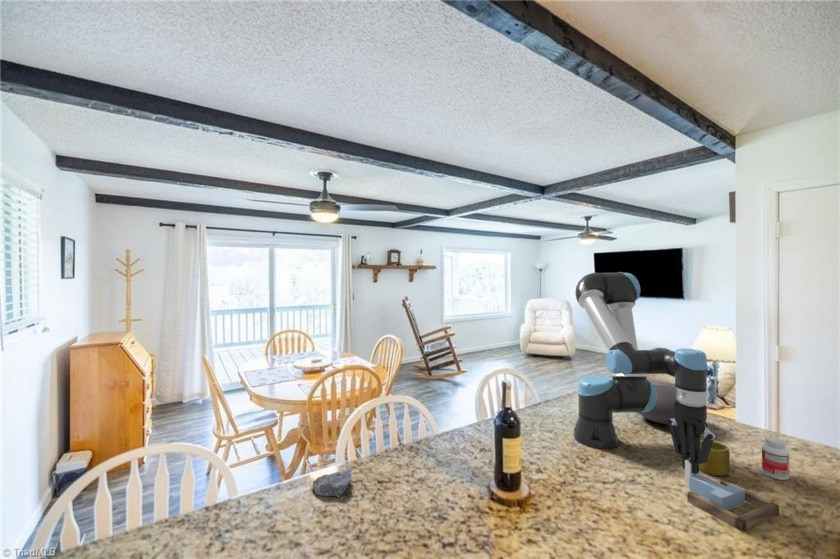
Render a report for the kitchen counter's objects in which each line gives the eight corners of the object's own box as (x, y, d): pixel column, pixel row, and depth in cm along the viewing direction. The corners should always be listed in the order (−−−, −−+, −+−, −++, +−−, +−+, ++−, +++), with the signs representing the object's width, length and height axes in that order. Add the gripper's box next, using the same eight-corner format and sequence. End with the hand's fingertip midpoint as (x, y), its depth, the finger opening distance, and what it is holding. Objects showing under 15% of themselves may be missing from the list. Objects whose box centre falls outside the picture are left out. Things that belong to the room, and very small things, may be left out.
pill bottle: (769, 468, 117) (769, 434, 117) (794, 478, 112) (794, 442, 111) (757, 472, 115) (757, 437, 115) (781, 482, 110) (782, 445, 109)
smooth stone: (640, 406, 172) (640, 374, 172) (706, 421, 154) (706, 386, 154) (621, 421, 156) (621, 386, 156) (693, 440, 137) (693, 400, 137)
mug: (746, 476, 110) (730, 441, 112) (709, 483, 112) (694, 449, 114) (724, 463, 121) (710, 432, 124) (691, 470, 123) (678, 439, 126)
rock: (351, 463, 115) (352, 476, 106) (352, 481, 115) (353, 496, 105) (312, 470, 113) (309, 484, 103) (313, 488, 112) (310, 504, 102)
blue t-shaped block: (682, 492, 105) (682, 478, 105) (704, 484, 109) (704, 471, 109) (721, 513, 96) (722, 498, 96) (744, 503, 100) (744, 489, 100)
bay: (687, 501, 101) (687, 492, 101) (723, 488, 107) (723, 479, 107) (742, 531, 89) (742, 521, 89) (779, 514, 95) (779, 505, 95)
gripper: (660, 397, 112) (660, 473, 112) (706, 412, 100) (706, 497, 100) (676, 394, 115) (676, 468, 115) (723, 408, 103) (723, 491, 103)
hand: (690, 482), depth 108 cm, fingers closed
